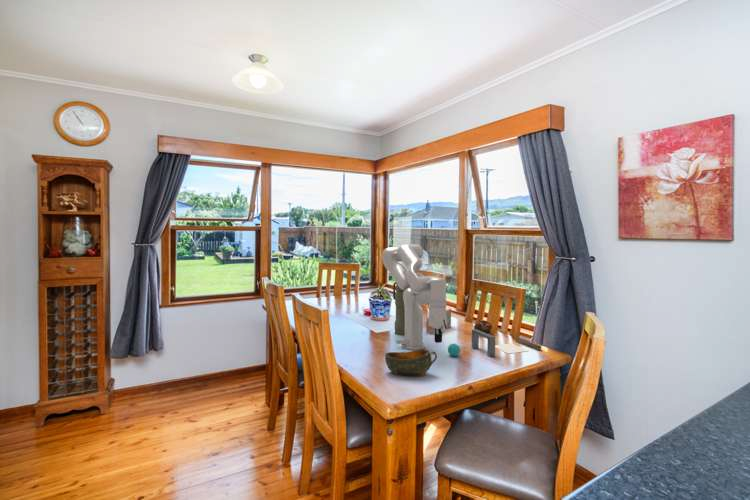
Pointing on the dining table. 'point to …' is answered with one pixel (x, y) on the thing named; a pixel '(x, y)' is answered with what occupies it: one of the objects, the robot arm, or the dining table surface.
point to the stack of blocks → (448, 312)
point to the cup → (409, 362)
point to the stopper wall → (528, 344)
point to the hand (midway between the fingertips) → (438, 341)
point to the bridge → (490, 342)
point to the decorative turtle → (483, 326)
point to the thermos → (399, 310)
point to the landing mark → (510, 348)
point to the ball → (453, 349)
